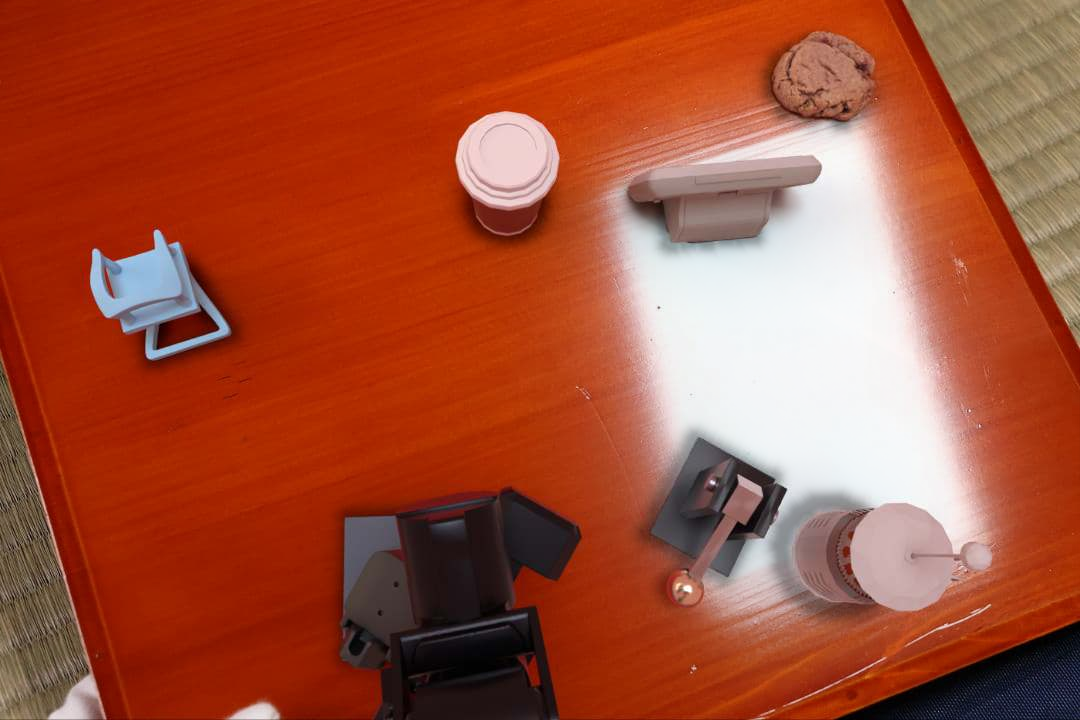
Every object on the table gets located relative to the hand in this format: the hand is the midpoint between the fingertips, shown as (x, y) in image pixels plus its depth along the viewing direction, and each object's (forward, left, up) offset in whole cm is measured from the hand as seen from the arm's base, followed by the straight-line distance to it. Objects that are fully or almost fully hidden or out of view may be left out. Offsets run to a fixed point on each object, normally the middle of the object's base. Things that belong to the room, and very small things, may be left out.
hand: (474, 595), depth 66 cm
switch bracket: (+7, -21, -12) cm, 25 cm away
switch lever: (+4, -20, -5) cm, 21 cm away
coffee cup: (+37, -3, -12) cm, 39 cm away
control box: (+1, +7, -12) cm, 13 cm away
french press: (+2, -33, -12) cm, 36 cm away
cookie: (+50, -36, -12) cm, 63 cm away
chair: (+27, +28, -12) cm, 40 cm away
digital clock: (+37, -23, -12) cm, 45 cm away
